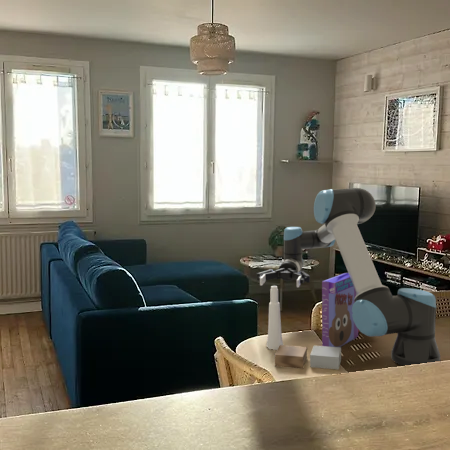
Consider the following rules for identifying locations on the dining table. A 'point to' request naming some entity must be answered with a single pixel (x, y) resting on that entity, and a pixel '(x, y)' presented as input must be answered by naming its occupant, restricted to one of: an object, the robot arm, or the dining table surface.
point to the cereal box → (338, 311)
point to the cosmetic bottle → (274, 321)
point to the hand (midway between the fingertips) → (279, 282)
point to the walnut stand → (291, 356)
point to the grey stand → (325, 357)
